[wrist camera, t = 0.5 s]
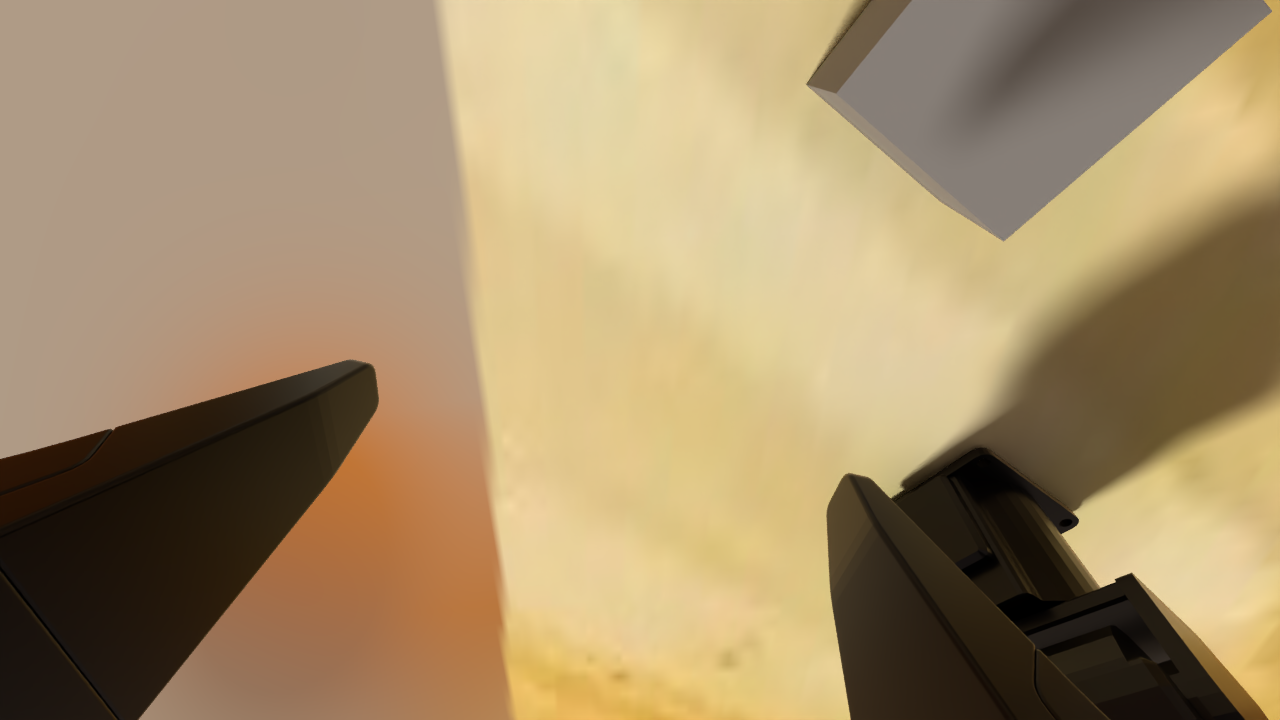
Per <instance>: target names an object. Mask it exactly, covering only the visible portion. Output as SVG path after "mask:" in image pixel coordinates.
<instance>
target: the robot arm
mask: <svg viewBox="0 0 1280 720" xmlns="http://www.w3.org/2000/svg"><path fill="white" fill-rule="evenodd" d="M378 402H379V397H378V388H377V380H376V372H375V369H374V367H373V366H372V365H371V364H369V363H366V362H361V361H357V360H346V361H342V362H339V363H335V364H332V365H329V366H325V367H322V368H319V369H315V370H312V371H308V372H304V373H301V374H298V375H294V376H291V377H287V378H284V379H280V380H277V381H274V382H270V383H267V384H263V385H260V386H256V387H253V388H250V389H246V390H242V391H239V392H236V393H232V394H229V395H225V396H222V397H218V398H215V399H211V400H208V401H205V402H201V403H198V404H194V405H191V406H187V407H184V408H180V409H177V410H173V411H170V412H167V413H163V414H160V415H156V416H153V417H149V418H146V419H143V420H139V421H136V422H132V423H129V424H125V425H122V426H118V427H116V428H115V429H114V430H112V429H108V430H104V431H101V432H97V433H94V434H90V435H87V436H84V437H80V438H77V439H73V440H69V441H66V442H63V443H59V444H55V445H51V446H48V447H44V448H41V449H37V450H33V451H30V452H26V453H22V454H18V455H14V456H10V457H6V458H2V459H0V720H139V718H140V717H141V716H142V715H143V713H144V712H145V711H146V710H147V708H148V707H149V706H150V705H151V703H152V702H153V701H154V700H155V698H156V697H157V696H158V694H159V693H160V692H161V691H162V690H163V688H164V687H165V686H166V685H167V683H168V682H169V681H170V680H171V678H172V677H173V676H174V675H175V674H176V672H177V671H178V670H179V669H180V667H181V666H182V665H183V663H184V662H185V661H186V660H187V659H188V657H189V656H190V655H191V654H192V652H193V651H194V650H195V649H196V647H197V646H198V645H199V644H200V642H201V641H202V640H203V639H204V637H205V636H206V635H207V634H208V632H209V631H210V630H211V629H212V627H213V626H214V625H215V624H216V622H217V621H218V620H219V619H220V617H221V616H222V615H223V614H224V612H225V611H226V610H227V609H228V607H229V606H230V605H231V604H232V603H233V601H234V600H235V599H236V598H237V596H238V595H239V594H240V593H241V591H242V590H243V589H244V588H245V586H246V585H247V584H248V582H249V581H250V580H251V579H252V578H253V576H254V575H255V574H256V573H257V571H258V570H259V569H260V568H261V566H262V565H263V564H264V563H265V561H266V560H267V559H268V558H269V556H270V555H271V554H272V553H273V551H274V550H275V549H276V548H277V546H278V545H279V544H280V543H281V542H282V540H283V539H284V538H285V537H286V535H287V534H288V533H289V532H290V530H291V529H292V528H293V527H294V525H295V524H296V523H297V522H298V520H299V519H300V518H301V517H302V515H303V514H304V513H305V512H306V510H307V509H308V508H309V507H310V505H311V504H312V503H313V502H314V500H315V499H316V498H317V497H318V495H319V494H320V493H321V492H322V490H323V489H324V488H325V487H326V485H327V484H328V483H329V481H330V480H331V479H332V478H333V476H334V475H335V473H336V472H337V470H338V469H339V467H340V466H341V465H342V463H343V462H344V460H345V458H346V456H347V455H348V454H349V452H350V450H351V449H352V447H353V446H354V444H355V443H356V441H357V440H358V438H359V436H360V435H361V433H362V432H363V430H364V428H365V427H366V426H367V424H368V423H369V421H370V419H371V418H372V416H373V415H374V413H375V411H376V409H377V407H378ZM981 459H984V460H981ZM979 460H981V461H979ZM1078 523H1079V519H1078V518H1077V517H1076V515H1075V514H1074V513H1073V512H1072V510H1070V509H1069V508H1068V507H1066V506H1065V505H1064V504H1062V503H1061V502H1060V501H1058V500H1057V499H1055V498H1054V497H1053V496H1051V495H1050V494H1049V493H1047V492H1046V491H1045V490H1043V489H1042V488H1041V487H1039V486H1038V485H1037V484H1035V483H1034V482H1033V481H1031V480H1030V479H1028V478H1027V477H1026V476H1024V475H1023V474H1022V473H1020V472H1019V471H1018V470H1016V469H1015V468H1014V467H1012V466H1011V465H1010V464H1008V463H1007V462H1005V461H1004V460H1003V459H1001V458H1000V457H999V456H997V455H996V454H995V453H993V452H992V451H991V450H989V449H987V448H978V449H975V450H973V451H971V452H969V453H968V454H966V455H965V456H963V457H962V458H960V459H959V460H957V461H956V462H954V463H953V464H951V465H949V466H948V467H946V468H945V469H943V470H942V471H940V472H939V473H937V474H936V475H934V476H933V477H931V478H930V479H928V480H927V481H925V482H924V483H922V484H921V485H919V486H917V487H916V488H914V489H913V490H911V491H910V492H908V493H907V494H905V495H904V496H902V497H901V498H899V499H898V500H896V501H895V502H893V501H892V500H891V499H890V498H889V497H888V496H887V495H886V494H885V492H884V491H883V490H882V489H881V488H880V487H879V486H878V485H877V484H876V483H875V482H874V481H873V480H871V479H870V478H868V477H865V476H861V475H856V474H852V473H848V474H845V475H844V476H843V478H842V479H841V481H840V483H839V485H838V487H837V489H836V491H835V493H834V495H833V496H832V498H831V500H830V502H829V505H828V508H827V536H828V557H829V578H830V592H831V600H832V607H833V613H834V620H835V626H836V632H837V638H838V644H839V650H840V656H841V662H842V668H843V674H844V681H845V687H846V693H847V699H848V705H849V711H850V717H851V720H1268V718H1267V717H1266V716H1265V714H1264V713H1263V711H1262V710H1261V709H1260V707H1259V706H1258V705H1257V704H1256V702H1255V701H1254V700H1253V699H1252V698H1251V697H1250V695H1249V694H1248V693H1247V692H1246V691H1245V690H1244V689H1243V687H1242V686H1241V685H1240V684H1239V683H1238V682H1237V681H1236V679H1235V678H1234V677H1233V676H1232V675H1231V674H1230V672H1229V671H1228V670H1227V669H1226V668H1225V667H1224V666H1223V664H1222V663H1221V662H1220V661H1219V660H1218V659H1217V658H1216V656H1215V655H1214V654H1213V653H1212V652H1211V651H1210V650H1209V648H1208V647H1207V646H1206V645H1205V644H1204V643H1203V642H1202V640H1201V639H1200V638H1199V637H1198V636H1197V635H1196V634H1195V633H1194V632H1193V631H1192V630H1191V629H1190V628H1189V627H1188V626H1187V625H1186V624H1185V623H1184V622H1183V621H1182V620H1181V619H1180V618H1179V617H1177V616H1176V615H1175V614H1174V613H1173V612H1172V611H1171V610H1170V609H1169V608H1168V607H1167V606H1166V605H1165V604H1164V603H1163V602H1162V601H1161V600H1160V599H1159V598H1158V597H1157V596H1156V595H1155V594H1154V593H1152V592H1151V591H1150V590H1149V589H1148V588H1147V587H1146V586H1145V585H1144V584H1143V583H1142V582H1141V581H1140V580H1139V579H1138V578H1137V577H1136V576H1135V575H1134V574H1133V573H1130V574H1127V575H1124V576H1122V577H1119V578H1117V579H1115V581H1116V582H1115V583H1113V584H1110V585H1107V586H1105V587H1102V588H1100V587H1099V585H1098V584H1097V583H1096V581H1095V580H1094V578H1093V577H1092V576H1091V574H1090V573H1089V572H1088V570H1087V569H1086V568H1085V566H1084V565H1083V564H1082V562H1081V561H1080V559H1079V558H1078V557H1077V555H1076V554H1075V553H1074V551H1073V550H1072V549H1071V547H1070V546H1069V545H1068V543H1067V542H1066V540H1065V539H1064V538H1063V536H1062V535H1061V534H1062V533H1064V532H1066V531H1068V530H1070V529H1072V528H1074V527H1075V526H1077V524H1078Z"/></svg>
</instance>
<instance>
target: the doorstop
mask: <svg viewBox="0 0 1280 720" xmlns="http://www.w3.org/2000/svg"><path fill="white" fill-rule="evenodd" d="M1271 12H1272V10H1271V9H1270V8H1269V7H1268V5H1267V4H1266V3H1265V2H1264V0H871V1H870V3H869V4H868V5H867V7H866V8H865V9H864V10H863V12H862V13H861V14H860V16H859V17H858V18H857V19H856V21H855V22H854V23H853V25H852V26H851V27H850V29H849V30H848V31H847V32H846V34H845V35H844V36H843V38H842V39H841V40H840V41H839V43H838V44H837V45H836V47H835V48H834V49H833V51H832V52H831V53H830V54H829V56H828V57H827V58H826V60H825V61H824V62H823V63H822V65H821V66H820V67H819V69H818V70H817V71H816V73H815V74H814V75H813V76H812V78H811V79H810V80H809V82H808V83H807V84H806V85H807V86H808V87H809V88H810V89H812V90H813V91H814V92H815V93H816V94H817V95H819V96H820V97H821V98H822V99H823V100H824V101H825V102H827V103H828V104H829V105H830V106H831V107H832V108H833V109H835V110H836V111H837V112H838V113H839V114H840V115H841V116H843V117H844V118H845V119H846V120H847V121H848V122H849V123H851V124H852V125H853V126H854V127H855V128H856V129H858V130H859V131H860V132H861V133H862V134H863V135H864V136H866V137H867V138H868V139H869V140H870V141H871V142H872V143H874V144H875V145H876V146H877V147H878V148H879V149H880V150H882V151H883V152H884V153H885V154H886V155H887V156H889V157H890V158H891V159H892V160H893V161H894V162H895V163H897V164H898V165H899V166H900V167H901V168H902V169H903V170H905V171H906V172H907V173H908V174H909V175H910V176H911V177H913V178H914V179H915V180H916V181H917V182H918V183H919V184H921V185H922V186H923V187H924V188H925V189H926V190H928V191H929V192H930V193H931V194H932V195H933V196H934V197H936V198H937V199H938V200H939V201H940V202H942V203H943V204H945V205H947V206H948V207H950V208H951V209H953V210H955V211H956V212H958V213H959V214H961V215H963V216H964V217H966V218H967V219H969V220H970V221H972V222H974V223H975V224H977V225H978V226H980V227H982V228H983V229H985V230H986V231H988V232H990V233H991V234H993V235H994V236H996V237H998V238H999V239H1001V240H1002V241H1005V240H1006V239H1007V238H1008V237H1009V236H1011V235H1012V234H1013V233H1014V232H1015V231H1016V230H1018V229H1019V228H1020V227H1021V226H1022V225H1023V224H1025V223H1026V222H1027V221H1028V220H1029V219H1030V218H1032V217H1033V216H1034V215H1035V214H1036V213H1037V212H1039V211H1040V210H1041V209H1042V208H1043V207H1044V206H1046V205H1047V204H1048V203H1049V202H1050V201H1051V200H1053V199H1054V198H1055V197H1056V196H1057V195H1058V194H1060V193H1061V192H1062V191H1063V190H1064V189H1065V188H1067V187H1068V186H1069V185H1070V184H1071V183H1072V182H1074V181H1075V180H1076V179H1077V178H1078V177H1079V176H1081V175H1082V174H1083V173H1084V172H1085V171H1086V170H1088V169H1089V168H1090V167H1091V166H1092V165H1093V164H1095V163H1096V162H1097V161H1098V160H1099V159H1100V158H1102V157H1103V156H1104V155H1105V154H1106V153H1107V152H1109V151H1110V150H1111V149H1112V148H1113V147H1114V146H1116V145H1117V144H1118V143H1119V142H1120V141H1121V140H1123V139H1124V138H1125V137H1126V136H1127V135H1128V134H1130V133H1131V132H1132V131H1133V130H1134V129H1135V128H1137V127H1138V126H1139V125H1140V124H1141V123H1142V122H1144V121H1145V120H1146V119H1147V118H1148V117H1149V116H1151V115H1152V114H1153V113H1154V112H1155V111H1156V110H1158V109H1159V108H1160V107H1161V106H1162V105H1163V104H1165V103H1166V102H1167V101H1168V100H1169V99H1170V98H1172V97H1173V96H1174V95H1175V94H1176V93H1177V92H1179V91H1180V90H1181V89H1182V88H1183V87H1184V86H1186V85H1187V84H1188V83H1189V82H1190V81H1191V80H1193V79H1194V78H1195V77H1196V76H1197V75H1198V74H1200V73H1201V72H1202V71H1203V70H1204V69H1205V68H1207V67H1208V66H1209V65H1210V64H1211V63H1212V62H1214V61H1215V60H1216V59H1217V58H1218V57H1219V56H1221V55H1222V54H1223V53H1224V52H1225V51H1226V50H1228V49H1229V48H1230V47H1231V46H1232V45H1233V44H1235V43H1236V42H1237V41H1238V40H1239V39H1240V38H1242V37H1243V36H1244V35H1245V34H1246V33H1247V32H1249V31H1250V30H1251V29H1252V28H1253V27H1254V26H1256V25H1257V24H1258V23H1259V22H1260V21H1261V20H1263V19H1264V18H1265V17H1266V16H1267V15H1268V14H1270V13H1271Z"/></svg>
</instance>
